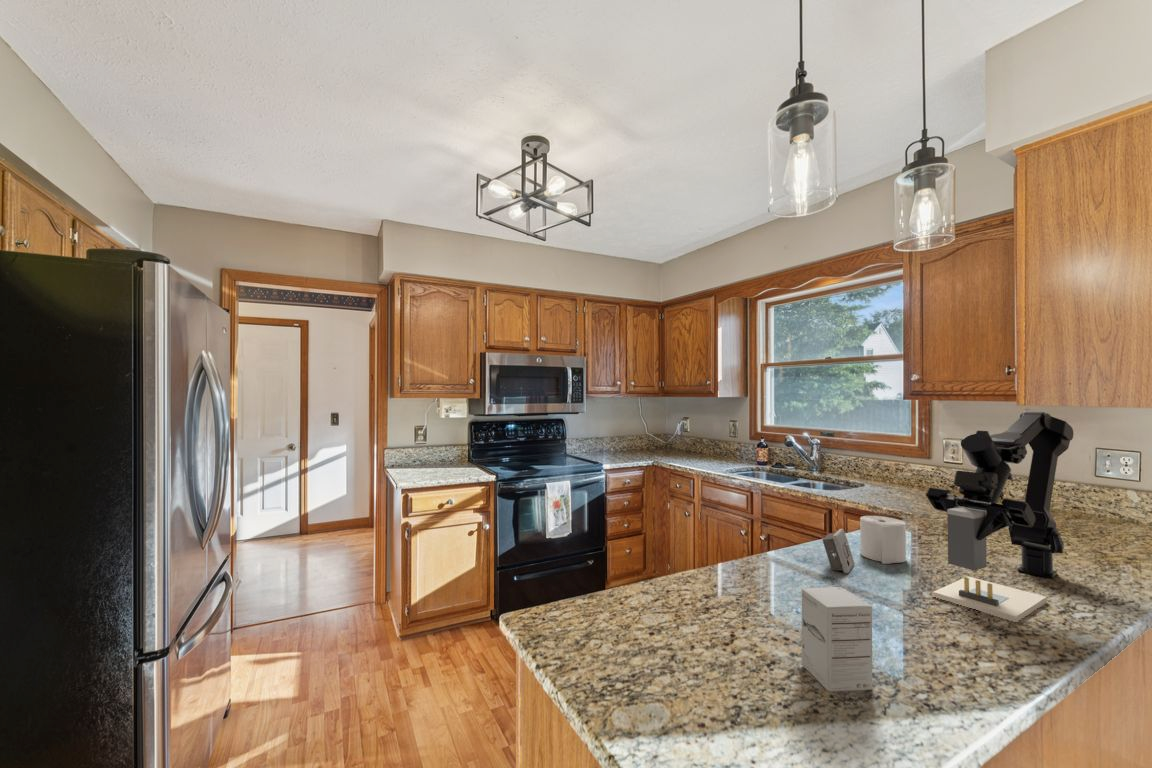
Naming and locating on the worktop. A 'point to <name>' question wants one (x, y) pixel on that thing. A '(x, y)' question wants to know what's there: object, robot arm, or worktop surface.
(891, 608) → the worktop surface
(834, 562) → the electrical switch
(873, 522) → the toilet tissue
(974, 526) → the plug block
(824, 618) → the supplement box
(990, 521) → the robot arm
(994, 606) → the board
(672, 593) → the worktop surface
